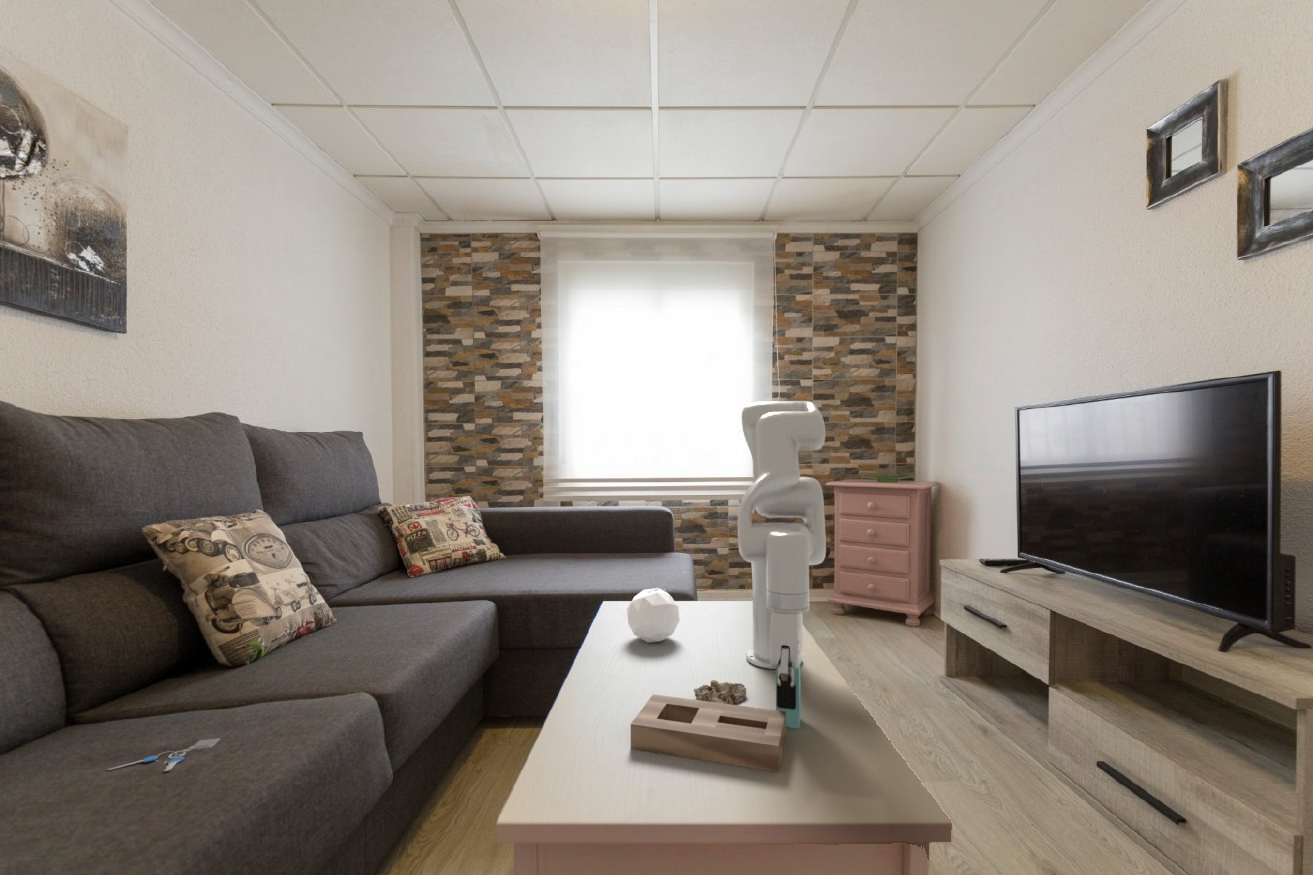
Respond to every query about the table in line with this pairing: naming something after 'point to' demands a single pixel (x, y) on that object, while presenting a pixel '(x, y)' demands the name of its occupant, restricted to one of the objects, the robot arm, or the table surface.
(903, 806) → the table surface
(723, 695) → the mineral rock
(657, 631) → the geodesic sphere
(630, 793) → the table surface
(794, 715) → the square peg
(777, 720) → the bore board
